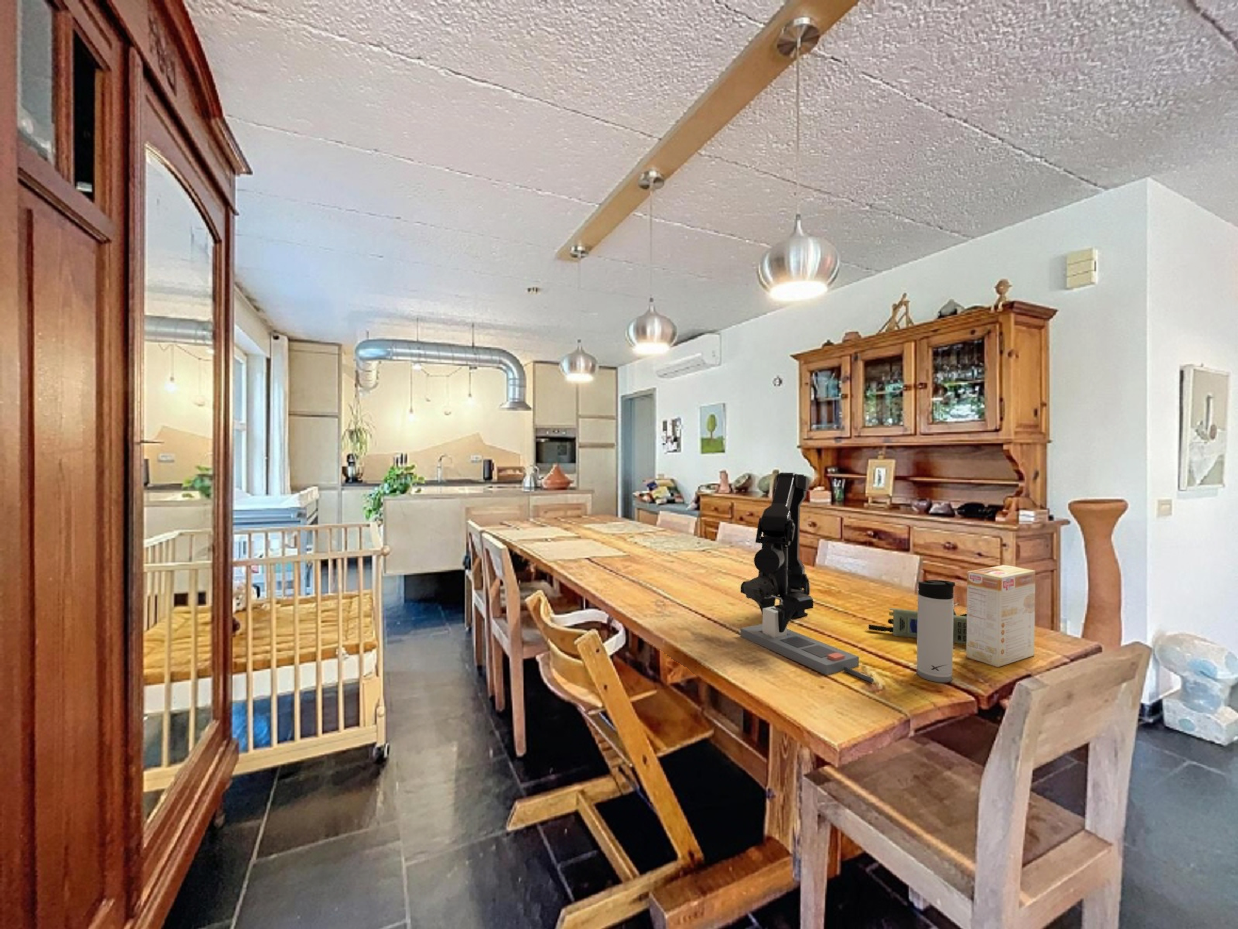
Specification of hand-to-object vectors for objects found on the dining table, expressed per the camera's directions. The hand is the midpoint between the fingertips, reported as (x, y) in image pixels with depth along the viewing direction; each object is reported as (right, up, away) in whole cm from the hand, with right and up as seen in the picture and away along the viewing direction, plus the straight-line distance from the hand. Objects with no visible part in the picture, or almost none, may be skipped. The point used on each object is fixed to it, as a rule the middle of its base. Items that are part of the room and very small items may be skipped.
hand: (774, 629), depth 127 cm
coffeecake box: (+48, -3, -9) cm, 49 cm away
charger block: (0, -2, 0) cm, 2 cm away
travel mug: (+27, -4, -20) cm, 34 cm away
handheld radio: (+38, -3, +3) cm, 38 cm away
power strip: (+5, -3, -9) cm, 10 cm away
